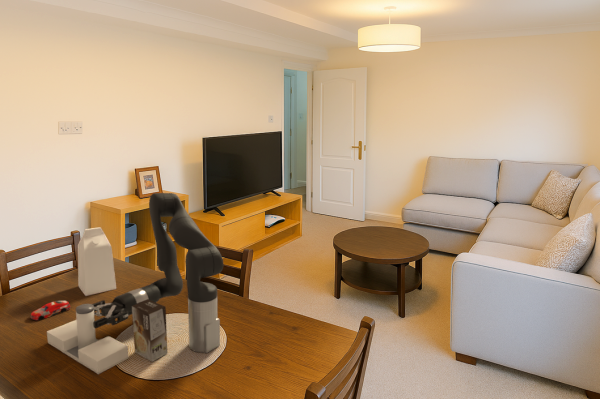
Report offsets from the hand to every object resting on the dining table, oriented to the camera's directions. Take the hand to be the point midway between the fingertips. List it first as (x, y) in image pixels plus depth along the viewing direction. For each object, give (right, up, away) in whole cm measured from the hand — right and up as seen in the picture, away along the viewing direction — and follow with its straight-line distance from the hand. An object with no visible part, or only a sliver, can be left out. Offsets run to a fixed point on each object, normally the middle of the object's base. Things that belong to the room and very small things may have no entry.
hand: (86, 321), depth 134 cm
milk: (-19, +1, +47) cm, 51 cm away
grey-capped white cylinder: (-1, -9, +2) cm, 9 cm away
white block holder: (-1, -10, +2) cm, 10 cm away
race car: (-25, -5, +24) cm, 35 cm away
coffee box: (+20, -11, +2) cm, 22 cm away
